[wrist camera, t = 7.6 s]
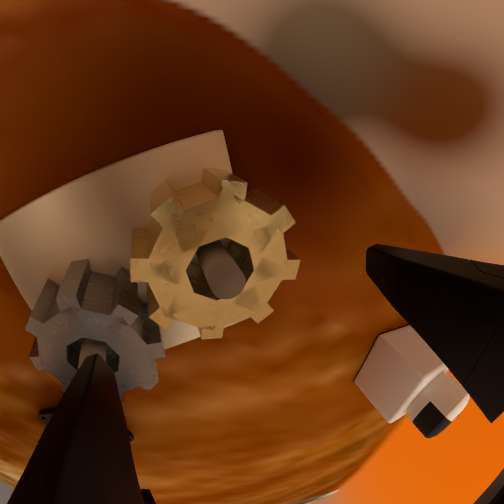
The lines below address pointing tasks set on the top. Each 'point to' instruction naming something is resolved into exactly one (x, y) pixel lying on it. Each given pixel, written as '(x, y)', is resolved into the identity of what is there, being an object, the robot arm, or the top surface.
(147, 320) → the grey gear
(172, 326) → the birch gear board
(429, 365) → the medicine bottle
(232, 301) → the brass gear
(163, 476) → the top surface
